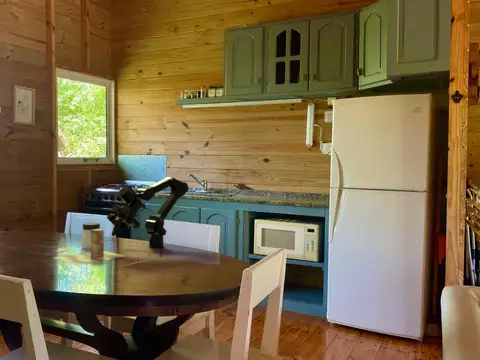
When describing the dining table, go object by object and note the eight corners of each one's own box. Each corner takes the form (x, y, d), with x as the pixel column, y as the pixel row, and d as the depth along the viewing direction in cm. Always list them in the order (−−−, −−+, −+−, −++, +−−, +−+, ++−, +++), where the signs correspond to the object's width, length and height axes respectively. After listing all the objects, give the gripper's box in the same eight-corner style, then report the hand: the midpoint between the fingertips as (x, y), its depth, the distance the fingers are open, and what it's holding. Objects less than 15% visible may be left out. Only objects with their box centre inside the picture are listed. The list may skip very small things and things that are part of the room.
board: (99, 250, 214) (100, 249, 214) (126, 257, 202) (126, 256, 202) (52, 259, 195) (52, 257, 195) (78, 266, 183) (78, 265, 183)
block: (98, 255, 203) (98, 228, 202) (103, 256, 200) (103, 229, 200) (90, 256, 199) (90, 229, 199) (95, 257, 197) (95, 230, 196)
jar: (102, 248, 221) (103, 224, 220) (86, 250, 216) (86, 225, 215) (95, 245, 228) (96, 221, 227) (79, 247, 223) (79, 223, 222)
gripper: (110, 197, 214) (89, 222, 206) (135, 199, 203) (114, 226, 195) (123, 212, 221) (104, 237, 213) (148, 215, 210) (129, 242, 201)
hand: (112, 235), depth 205 cm, fingers closed
